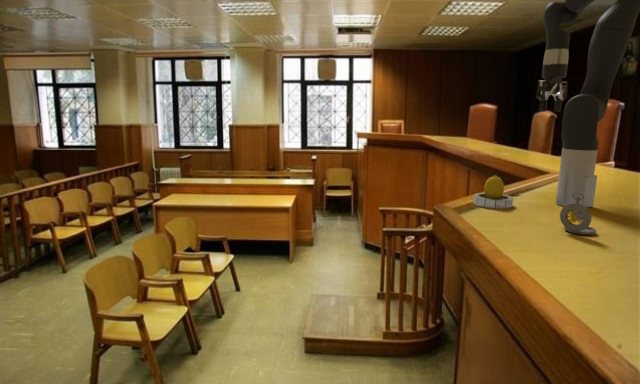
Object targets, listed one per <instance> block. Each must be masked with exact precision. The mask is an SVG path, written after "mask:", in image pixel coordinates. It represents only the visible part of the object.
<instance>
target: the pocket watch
mask: <svg viewBox="0 0 640 384" xmlns="http://www.w3.org/2000/svg"><path fill="white" fill-rule="evenodd" d="M574 194H580V193H573V194H572V197H573V198H574V196H573V195H574ZM580 195H581V196H582V198H581V199H580V198H579V196H577V198H574V199H575V200H576V203H570V204H567V205H566V206H563V207H562V209H561V210H560V212H559V213H560V214H559V219H560V222H561V224H562V225H563V226H564V227H563V228H564V230H565V231H566V232H569V233H573V234H577V235H585V236H586V235H594V234H596V233H597V229H596V228H595V227H590V224H591V222H592V214H591V211H590V210H589V207H586V206H584V205H582V204H580V203H579V201H580V200H582V199H583V198H584V196H583V195H582V194H580ZM575 223H577V224H575Z"/></svg>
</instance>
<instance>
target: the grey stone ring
mask: <svg viewBox="0 0 640 384" xmlns="http://www.w3.org/2000/svg"><path fill="white" fill-rule="evenodd" d="M473 203H474V204H473ZM472 204H473V205H475V206H477V207H481V208H486V209H487V208H489V209H493V210H494V209H496V210H497V209H501V210H502V209H504V210H505V209H511V208H512V207H513V204H514V197H513V196H510V195H507V194H504V193H503V194H502V196H501V197H500V198H498V199H490V198H488V197H487V196H486V194H485V192H480V193H474V195H473V201H472Z"/></svg>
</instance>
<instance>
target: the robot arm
mask: <svg viewBox="0 0 640 384" xmlns="http://www.w3.org/2000/svg"><path fill="white" fill-rule="evenodd" d="M594 1H595V0H564V1H552V2H549V3H548V4H547V5H546V7H545V8H544V11H543V24H544V29H545V36H546V42H545V51H544V56H543V60H542V61H543V63H542V72H541V78H543V80H542V79H541V80H540V79H539V80H537V81H538V82H537V87H536V94H535V98H536V99H538V100H539V108H538V111H539V112H542V113H543V112H544V113H545V112H547V108H548V99H549V97H550V96H552V97H553V98H554V104H553V112H555V113H558V112H561V110H562V102H563V101H564V100H566V99H567V97H568V86H569V84H568V83H569V82H568V81H563V79H565V78H566V77H567V73H568V65H569V47H570V40H571V34H570V32H569V31H565V30H563V29H562V28H561V27H560V25H565V26H566V25H571V24H573V23H575V22H577V20H578V18H579V17H580V15H582V12H583V11H584V10H585V9H586V8H587V7H588V6H590V5H591V4H592V3H593V2H594ZM639 13H640V0H616V1H615V2H614V3H613V4H612V5H610V7H608V8H607V10H606V11H605V12H604V13H603V14H602V15H601V16H600V18H599V19H598V21H596V24H595V27H594V30H593V33H592V35H591V39H590V42H589V45H588V55H587V66H586V67H587V68H586V69H587V71H586V77H585V79H584V82H583V85H582V88H581V90H580V93H579V94H577V95H575V96H572V97H571V98H570V99H569V100H568V101H567V102H566V103H565V107H564V109H563V115H562V124H561V142H562V148H561V157H560V164H559V172H558V181H557V187H556V188H557V189H556V197H555V204H556V205H559V206H563V207H564V206H566V205H567V204H570V203H576V200H575V199H574V198H577V196H579V198H580V199H581V198H582V196H581V195H580V194H582V195H583V196H584V198H583V199H582V200H580V201H579V203H580V204H582V205H584V206H586V207H587V208H592V207H594V203H595V202H594V201H595V195H596V189H597V188H596V187H597V182H598V181H597V180H598V175H596V174H595V172H596V166H597V157H598V150H599V143H600V142H599V140H598V135H597V132H598V123H600V122H601V120H602V119H603V118H605V115H606V112H607V109H608V104H609V101H610V100H609V99H610V96H611V91H612V88H613V85H614V84H613V83H614V81H615V78H616V77H617V76H616V75H617V73H618V70H619V68H620V66H621V63H622V61H623V60H624V59H623V58H624V56H625V53H626V50H627V49H628V46H629V42H630V41H631V37H632V35H633V31H634V28H635V26H636V22H637V19H638V16H639ZM573 193H580V194H574V195H573V196H574V198H573V197H572V194H573Z"/></svg>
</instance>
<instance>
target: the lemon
mask: <svg viewBox="0 0 640 384" xmlns="http://www.w3.org/2000/svg"><path fill="white" fill-rule="evenodd" d="M483 191H484V193H485V194H486V196H487V197H488V198H490V199H498V198H500V197H501V196H502V194H503V195H504V191H505V184H504V181H503V179H502V178H501V177H499V176H497V175H493V176H490V177H488V179H486V181H485V184H484V189H483Z"/></svg>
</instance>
